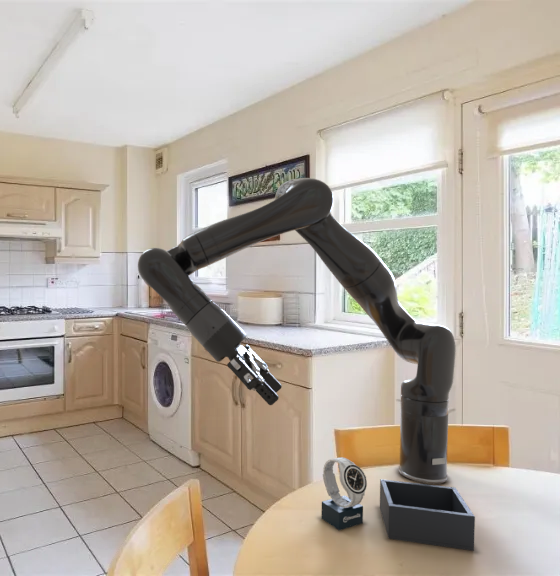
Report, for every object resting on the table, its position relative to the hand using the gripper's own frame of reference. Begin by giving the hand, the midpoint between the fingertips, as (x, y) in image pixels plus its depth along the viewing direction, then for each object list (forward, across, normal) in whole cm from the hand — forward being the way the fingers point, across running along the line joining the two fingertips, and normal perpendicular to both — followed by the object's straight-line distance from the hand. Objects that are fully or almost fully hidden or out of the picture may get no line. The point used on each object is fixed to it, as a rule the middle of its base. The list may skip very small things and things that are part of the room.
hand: (276, 395), depth 87 cm
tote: (+33, +2, -2) cm, 33 cm away
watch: (+24, 0, +7) cm, 25 cm away
